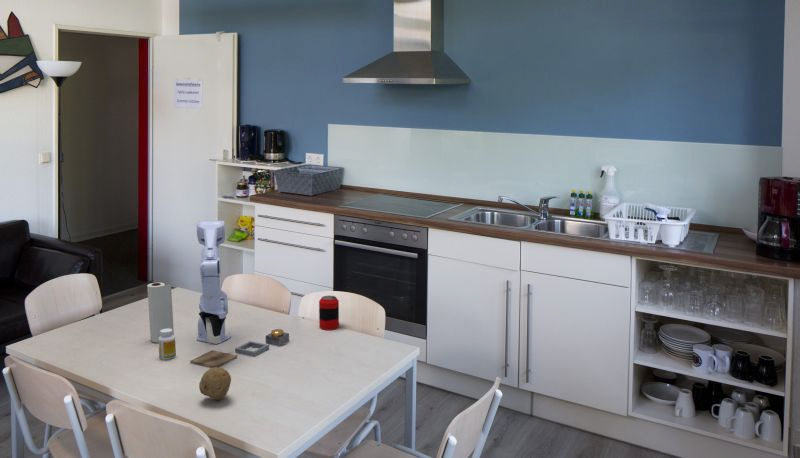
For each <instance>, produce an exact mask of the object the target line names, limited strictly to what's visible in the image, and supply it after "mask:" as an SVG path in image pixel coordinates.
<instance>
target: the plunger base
mask: <svg viewBox="0 0 800 458" xmlns="http://www.w3.org/2000/svg"><path fill="white" fill-rule="evenodd" d="M289 341H290V333H289V332H284V331H283V335H282V336H272V335H271V332H270V333H268V334H267V335H265V344H267V345H271V346H277V347H280V346H283V345H284V344H287V343H288V342H289Z"/></svg>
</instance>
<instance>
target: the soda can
mask: <svg viewBox="0 0 800 458" xmlns="http://www.w3.org/2000/svg"><path fill="white" fill-rule="evenodd" d="M339 302H340V300H339V299H338V297H336V296H335V295H323V296H322V297H321V298H320V300H319V301H318V312H319V313H318V317H319V318H318V320H319V322H318V323H319V324H318V325H319V329H321V330H324V331H333V330H337V329H338V328H339V326H340V320H339V319H340V315H339V314H340V311H339V310H340V309H339V308H340V307H339V306H340V304H339Z"/></svg>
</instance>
